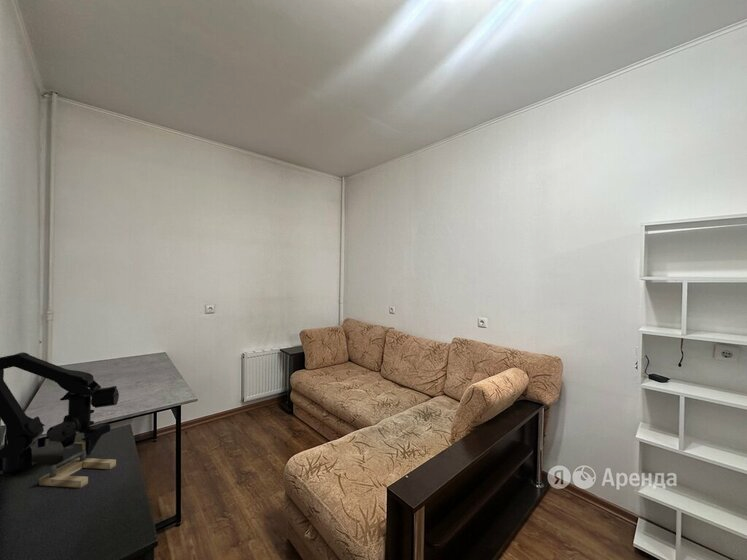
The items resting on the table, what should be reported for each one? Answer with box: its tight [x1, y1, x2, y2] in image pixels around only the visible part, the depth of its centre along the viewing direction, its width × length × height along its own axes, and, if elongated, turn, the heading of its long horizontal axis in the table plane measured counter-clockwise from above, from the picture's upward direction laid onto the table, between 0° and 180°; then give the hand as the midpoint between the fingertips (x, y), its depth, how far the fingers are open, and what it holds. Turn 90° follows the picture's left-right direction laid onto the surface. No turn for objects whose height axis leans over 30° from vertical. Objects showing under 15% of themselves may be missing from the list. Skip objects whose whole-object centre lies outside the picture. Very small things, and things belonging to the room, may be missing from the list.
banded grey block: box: [62, 439, 95, 464], centre depth 105 cm, size 4×7×5 cm, turn 175°
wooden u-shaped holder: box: [38, 449, 117, 489], centre depth 95 cm, size 14×11×5 cm
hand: (78, 454), depth 105 cm, fingers open, 7 cm apart
